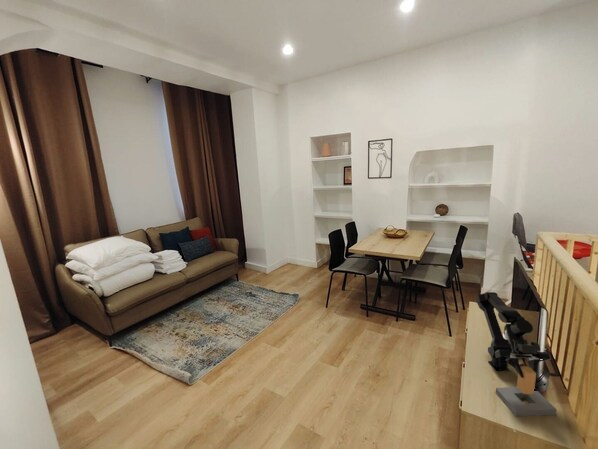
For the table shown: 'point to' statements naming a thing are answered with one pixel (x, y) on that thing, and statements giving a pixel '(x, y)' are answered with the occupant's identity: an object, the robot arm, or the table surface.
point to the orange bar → (526, 380)
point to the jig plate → (518, 408)
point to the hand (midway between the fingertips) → (528, 378)
